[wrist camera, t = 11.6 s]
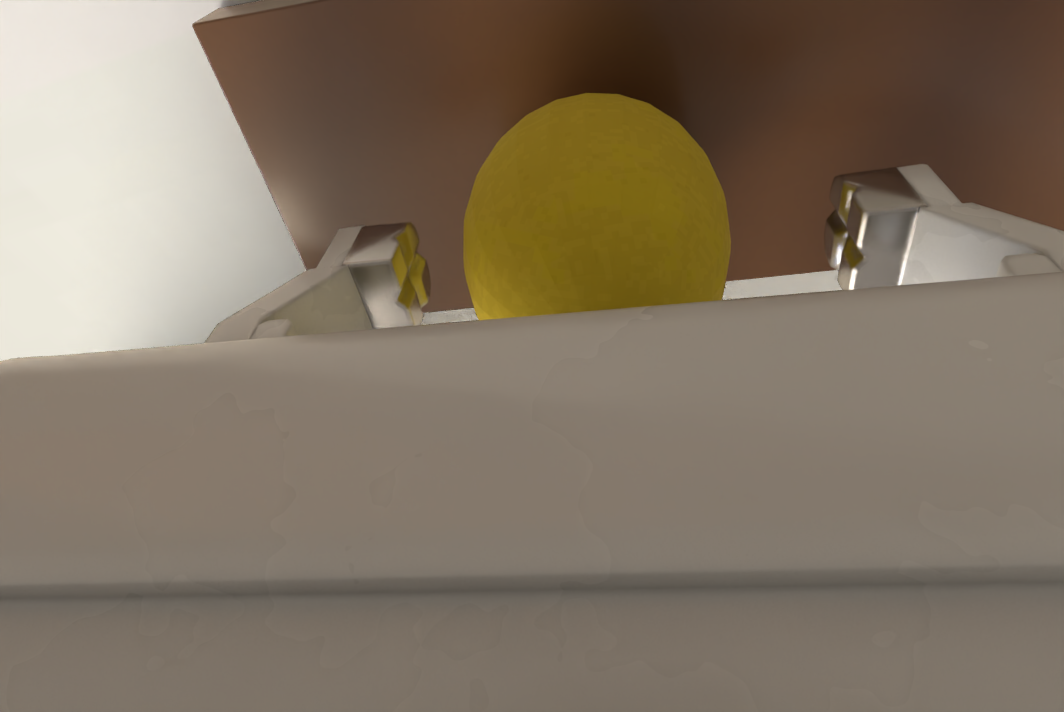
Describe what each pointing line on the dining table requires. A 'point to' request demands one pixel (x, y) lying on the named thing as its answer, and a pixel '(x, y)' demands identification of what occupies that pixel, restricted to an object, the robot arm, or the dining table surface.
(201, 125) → the dining table surface
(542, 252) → the lemon
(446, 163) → the serving board
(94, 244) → the dining table surface
